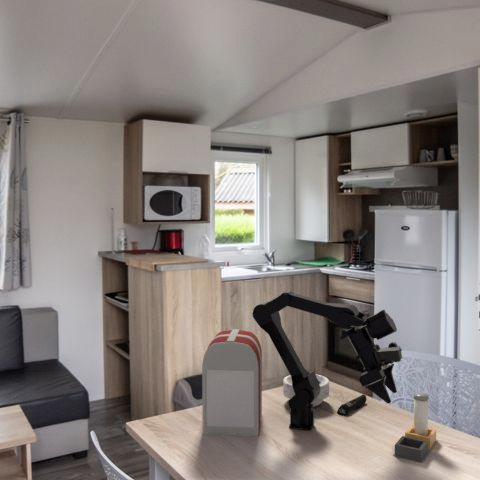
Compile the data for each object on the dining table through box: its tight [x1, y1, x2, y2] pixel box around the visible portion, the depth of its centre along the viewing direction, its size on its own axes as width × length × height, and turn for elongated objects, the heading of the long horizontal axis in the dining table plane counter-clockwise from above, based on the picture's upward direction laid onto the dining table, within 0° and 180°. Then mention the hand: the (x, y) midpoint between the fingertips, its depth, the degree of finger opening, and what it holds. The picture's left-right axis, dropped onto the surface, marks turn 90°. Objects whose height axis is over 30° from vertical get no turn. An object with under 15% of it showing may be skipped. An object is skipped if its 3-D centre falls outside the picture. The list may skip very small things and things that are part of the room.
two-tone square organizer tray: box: [392, 424, 439, 464], centre depth 148 cm, size 16×8×4 cm, turn 147°
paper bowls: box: [282, 373, 330, 407], centre depth 186 cm, size 15×15×8 cm
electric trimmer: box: [336, 394, 367, 417], centre depth 181 cm, size 4×16×3 cm, turn 140°
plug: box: [413, 392, 429, 436], centre depth 152 cm, size 4×4×13 cm
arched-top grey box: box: [201, 328, 263, 437], centre depth 167 cm, size 16×18×27 cm
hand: (392, 397), depth 155 cm, fingers open, 9 cm apart
